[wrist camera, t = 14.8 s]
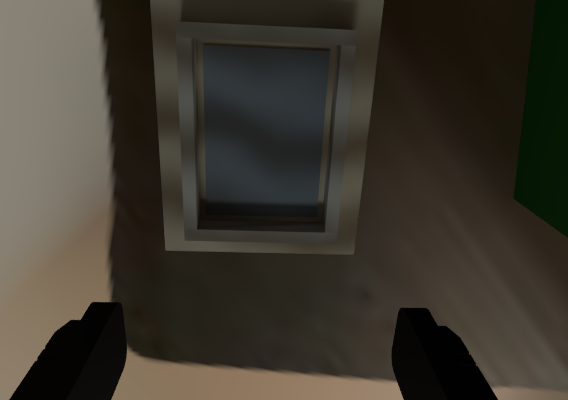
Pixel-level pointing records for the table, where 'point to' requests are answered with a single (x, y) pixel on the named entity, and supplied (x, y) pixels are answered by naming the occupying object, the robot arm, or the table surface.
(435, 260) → the table surface
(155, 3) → the window
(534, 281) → the table surface
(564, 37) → the hardback book
